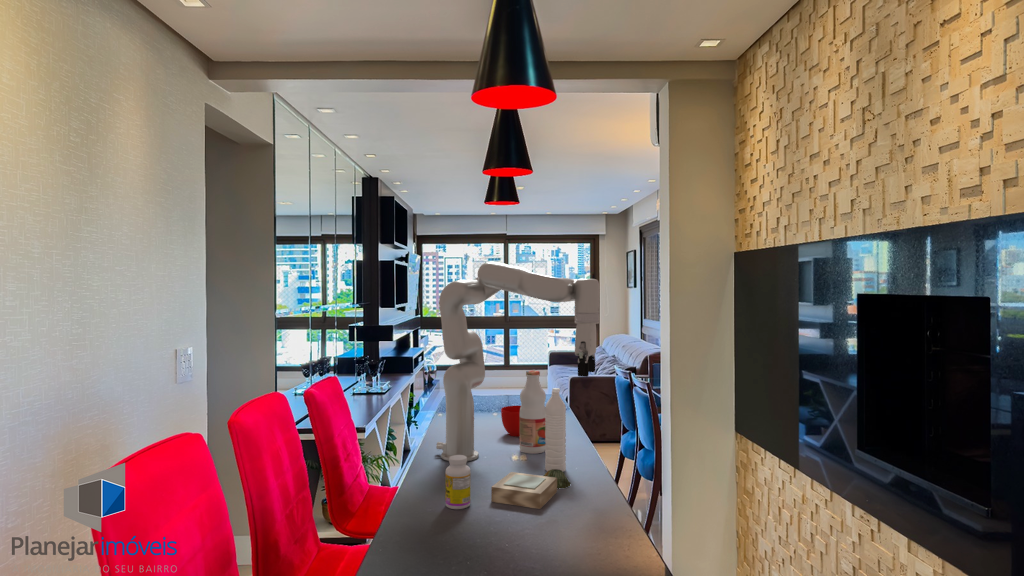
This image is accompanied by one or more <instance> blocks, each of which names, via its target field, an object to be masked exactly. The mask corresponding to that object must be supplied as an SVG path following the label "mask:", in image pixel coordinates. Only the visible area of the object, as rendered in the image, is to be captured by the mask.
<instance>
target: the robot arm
mask: <svg viewBox="0 0 1024 576" xmlns="http://www.w3.org/2000/svg"><path fill="white" fill-rule="evenodd" d="M500 291H505V292H509V293H513V294H518V295H521V296H526V297H530V298H534V299H537V300H542V301H547V302H549V303H550V302H551V303H568V302H574V324H576V327H575V337H574V338H575V341H574V355H575V356H577V376H578V377H583V378H584V377H589V375H590V374H589V373H595V372H596V355H595V354H596V352H597V324H600V282H599V280H598V279H595V278H577V279H575V278H568V277H555V276H549V275H543V274H539V273H535V272H532V271H531V270H529V269H528V268H525V267H520V266H516V265H515V266H514V265H510V264H507V263H504V262H499V261H487V262H483V264H481V265H480V266H479V267H478V270H477V277H476V278H474V279H458V280H454V281H451V282H450V283H448V284H446V286H445V287H444V288H443V289H442V290H441V291H440V295H439V298H438V306H439V307H438V308H439V312H440V320H441V331H442V341H443V350H444V354H445V356H446V357H447V358H449V359H450V360H456V361H458V360H459V362H458V363H456V364H455V363H454V364H453V365H450V366H449V367H448V368H447V369H446V371H445V372H444V375H443V378H442V383H443V389H444V394H445V442H442V441H437V443H436V449H437V450H442V452H441V454H440V457H441V459H442V460H444V461H447V462H449V457H450V456H454V455H464V456H466V457H467V462H470V461H471V462H472V461H474V460H476V459H478V458H479V456H480V455H479V451H477V450H475V401H474V395H473V394H472V393H473V392H472V389H475V388H478V387H479V386H480V385H482V384H483V383H484V380H485V378H486V368H485V359H484V358H485V356H484V349H483V348H484V347H483V342H482V340H481V338H480V336H479V334H478V333H476V332H475V331H474V330H470V329H468V323H467V317H466V313H465V311H464V309H463V307H464V306H467V305H468V306H469V305H471V306H472V305H478V304H482V303H483V302H485V301H487V300H488V299H490V298H491V297H493V296H494V295H495V294H497V293H498V292H500Z"/></svg>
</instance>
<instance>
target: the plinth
mask: <svg viewBox="0 0 1024 576" xmlns="http://www.w3.org/2000/svg"><path fill="white" fill-rule="evenodd" d="M490 490H491V496H490V497H491V499H490V500H491V502H493V503H496V504H505V505H512V506H519V507H525V508H531V509H538V510H541V509H542V508H543V507H544V506H545V505H546V504H547V503H548V502H549V501H550V500H551V499H552V498H553V497H554V496H555V495H556V494H557V492H558V489H557V478H555V477H547V476H543V475H540V474H539V475H538V474H531V473H524V472H515V471H510V472H509V473H508V474H507V475H505V476H504V477H502V478H501V479H500V480H498V481H497V482H496V483H494V484H493V485H492V486H491V488H490Z"/></svg>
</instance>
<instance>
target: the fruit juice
mask: <svg viewBox="0 0 1024 576" xmlns="http://www.w3.org/2000/svg"><path fill="white" fill-rule="evenodd" d="M525 376H526V381H525V385H524V388H523V389H522V390H521V392H520V395H519V400H520V404H521V405H520V406H521V407H520V436H519V451H520V452H521V453H525V454H528V455H529V454H533V455H537V454H542V453H544V452H545V450H546V449H545V444H546V443H545V438H546V437H545V430H546V429H545V427H546V426H545V422H546V421H545V417H546V416H545V414H546V413H545V406H546V400H547V397H546V395H547V394H546V392H545V390H544V388H543V387H542V386H541V382H540V376H541V371H540V370H534V369H533V370H531V369H530V370H526V372H525Z"/></svg>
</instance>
